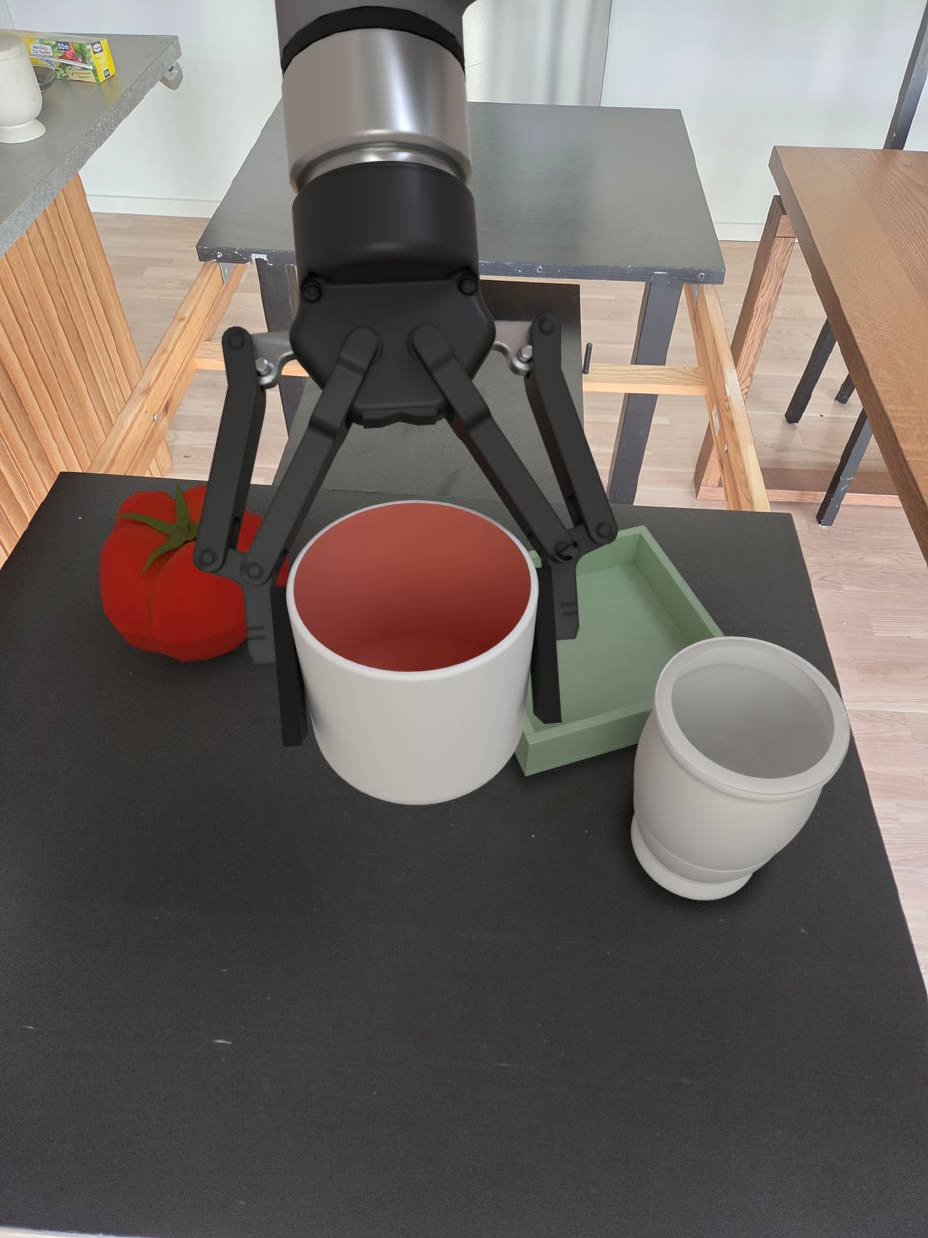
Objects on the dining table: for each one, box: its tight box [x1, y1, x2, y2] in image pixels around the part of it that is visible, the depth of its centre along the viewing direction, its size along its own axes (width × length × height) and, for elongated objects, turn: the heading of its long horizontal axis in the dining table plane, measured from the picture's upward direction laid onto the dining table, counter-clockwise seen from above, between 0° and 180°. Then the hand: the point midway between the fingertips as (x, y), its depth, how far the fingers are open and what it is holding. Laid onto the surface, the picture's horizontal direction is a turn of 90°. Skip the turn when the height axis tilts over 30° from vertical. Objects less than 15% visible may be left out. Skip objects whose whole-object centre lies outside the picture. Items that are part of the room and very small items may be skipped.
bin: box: [514, 524, 726, 777], centre depth 66 cm, size 18×18×4 cm
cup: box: [286, 499, 538, 806], centre depth 37 cm, size 10×10×10 cm
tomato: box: [98, 480, 290, 663], centre depth 65 cm, size 13×14×12 cm
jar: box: [630, 636, 851, 901], centre depth 51 cm, size 11×10×15 cm
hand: (423, 729), depth 36 cm, fingers closed on cup, 10 cm apart
